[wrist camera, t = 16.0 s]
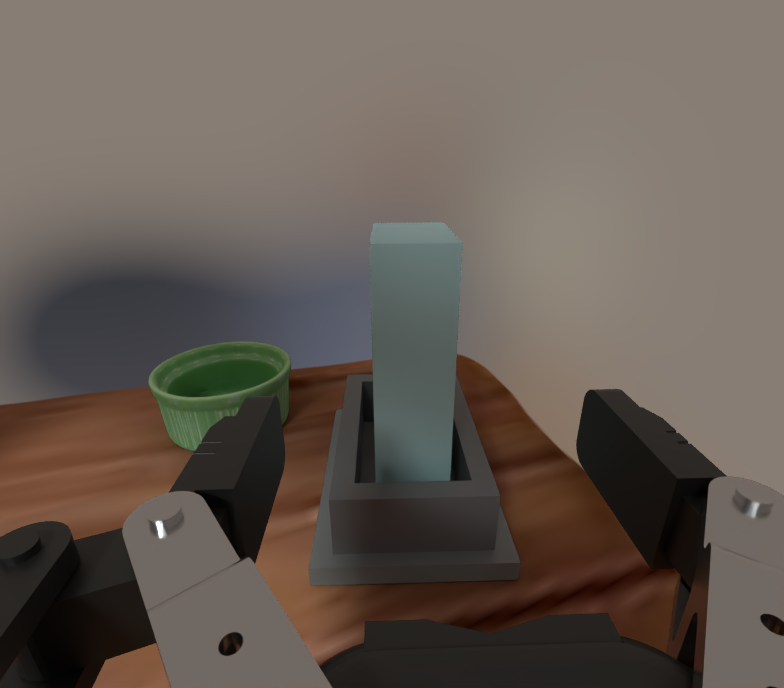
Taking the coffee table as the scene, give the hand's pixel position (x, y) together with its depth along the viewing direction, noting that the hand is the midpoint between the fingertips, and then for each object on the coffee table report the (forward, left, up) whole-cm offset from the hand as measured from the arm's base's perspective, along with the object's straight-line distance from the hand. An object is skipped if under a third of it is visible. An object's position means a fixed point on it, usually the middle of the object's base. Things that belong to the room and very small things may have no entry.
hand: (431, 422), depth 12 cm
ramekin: (-12, +17, -11) cm, 24 cm away
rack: (0, +10, -10) cm, 15 cm away
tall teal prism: (0, +10, -9) cm, 14 cm away
